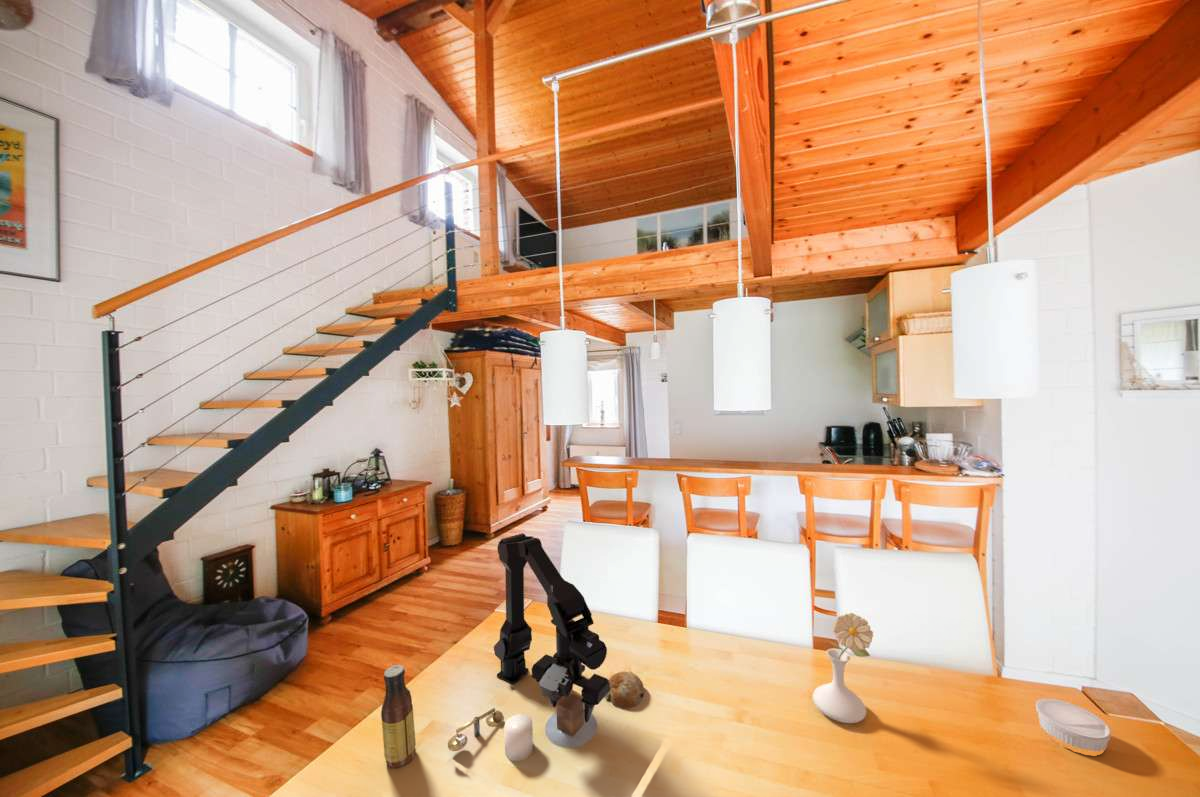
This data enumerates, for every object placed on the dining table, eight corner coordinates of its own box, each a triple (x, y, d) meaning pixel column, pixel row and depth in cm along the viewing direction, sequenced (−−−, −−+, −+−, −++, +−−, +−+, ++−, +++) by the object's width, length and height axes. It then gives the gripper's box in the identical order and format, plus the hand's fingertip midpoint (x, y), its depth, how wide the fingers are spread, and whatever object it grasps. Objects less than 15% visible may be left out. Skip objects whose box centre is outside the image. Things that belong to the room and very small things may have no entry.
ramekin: (1100, 770, 88) (1100, 745, 88) (1026, 732, 98) (1026, 709, 98) (1118, 748, 93) (1119, 724, 93) (1046, 713, 103) (1047, 691, 103)
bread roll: (634, 729, 106) (648, 701, 105) (596, 707, 108) (609, 679, 107) (639, 700, 116) (651, 674, 115) (604, 680, 117) (616, 655, 116)
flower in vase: (806, 712, 105) (804, 610, 104) (820, 687, 113) (819, 592, 113) (868, 741, 96) (867, 630, 95) (879, 712, 105) (878, 609, 104)
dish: (534, 738, 99) (534, 733, 99) (566, 705, 109) (565, 700, 109) (577, 761, 93) (577, 756, 93) (606, 724, 103) (606, 719, 103)
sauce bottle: (407, 741, 100) (404, 655, 99) (421, 755, 96) (418, 666, 95) (378, 760, 94) (374, 671, 94) (391, 776, 91) (387, 683, 90)
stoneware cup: (498, 759, 94) (497, 728, 94) (518, 738, 100) (517, 709, 99) (520, 772, 91) (519, 740, 90) (540, 750, 96) (539, 720, 96)
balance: (494, 715, 107) (494, 690, 106) (506, 721, 104) (506, 696, 104) (444, 760, 94) (443, 732, 94) (456, 768, 92) (455, 740, 92)
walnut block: (557, 728, 100) (556, 703, 100) (568, 716, 104) (568, 691, 104) (572, 736, 98) (572, 710, 98) (584, 723, 102) (583, 698, 102)
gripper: (514, 653, 99) (516, 720, 99) (582, 682, 89) (584, 756, 89) (545, 629, 108) (547, 691, 109) (610, 652, 98) (612, 720, 99)
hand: (570, 713), depth 101 cm, fingers open, 9 cm apart
